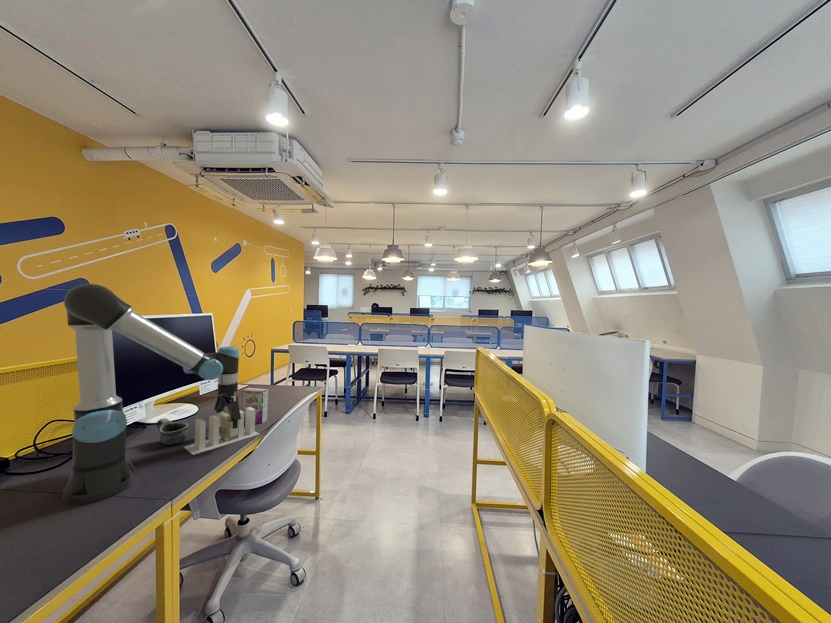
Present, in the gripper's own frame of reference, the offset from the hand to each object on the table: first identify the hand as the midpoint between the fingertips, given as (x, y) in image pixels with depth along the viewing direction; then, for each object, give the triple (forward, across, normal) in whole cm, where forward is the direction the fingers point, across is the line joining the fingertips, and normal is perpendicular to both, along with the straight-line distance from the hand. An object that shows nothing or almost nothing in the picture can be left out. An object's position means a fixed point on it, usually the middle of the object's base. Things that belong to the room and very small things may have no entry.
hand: (226, 431), depth 134 cm
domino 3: (+4, 0, -5) cm, 6 cm away
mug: (+4, +14, +16) cm, 22 cm away
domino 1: (+4, 0, +10) cm, 11 cm away
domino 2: (+4, 0, +5) cm, 6 cm away
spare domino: (+4, 0, 0) cm, 4 cm away
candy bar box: (+4, +12, -18) cm, 22 cm away
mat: (+4, 0, +1) cm, 4 cm away
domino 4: (+4, 0, -10) cm, 11 cm away
